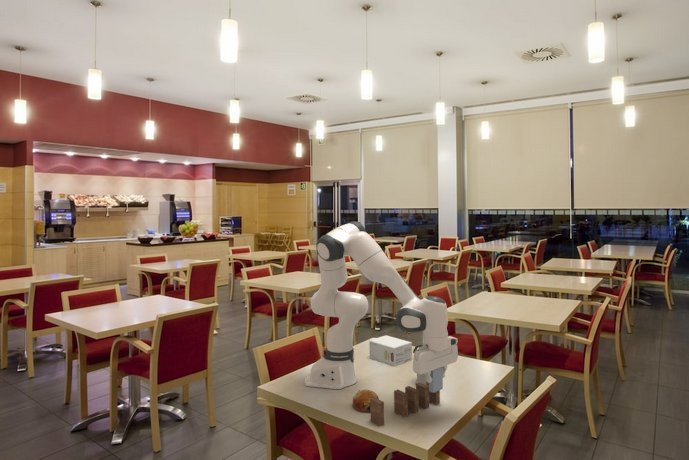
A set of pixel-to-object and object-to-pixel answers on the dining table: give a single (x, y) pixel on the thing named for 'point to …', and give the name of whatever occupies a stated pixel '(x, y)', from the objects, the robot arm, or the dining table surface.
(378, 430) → the dining table surface
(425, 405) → the domino
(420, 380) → the coffee cup
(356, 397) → the bread roll
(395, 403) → the domino
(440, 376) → the domino
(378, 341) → the supplement box
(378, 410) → the domino
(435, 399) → the domino
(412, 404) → the domino
